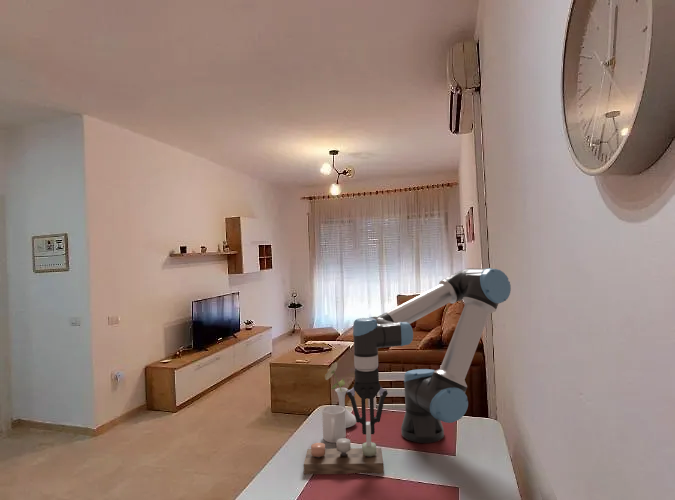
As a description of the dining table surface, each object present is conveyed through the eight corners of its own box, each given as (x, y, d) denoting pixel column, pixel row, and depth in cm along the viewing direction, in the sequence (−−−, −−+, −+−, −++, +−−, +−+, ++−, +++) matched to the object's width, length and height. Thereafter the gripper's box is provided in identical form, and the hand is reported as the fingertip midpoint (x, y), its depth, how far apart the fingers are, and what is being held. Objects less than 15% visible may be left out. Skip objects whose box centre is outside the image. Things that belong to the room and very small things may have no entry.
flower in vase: (343, 417, 167) (341, 355, 168) (363, 424, 158) (360, 360, 159) (318, 426, 158) (316, 362, 159) (338, 435, 150) (336, 366, 150)
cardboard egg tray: (381, 457, 132) (381, 447, 132) (383, 473, 122) (383, 463, 122) (307, 458, 133) (307, 449, 133) (304, 474, 123) (303, 464, 123)
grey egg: (350, 451, 129) (350, 438, 129) (350, 458, 125) (350, 444, 125) (337, 451, 129) (336, 438, 130) (336, 458, 125) (336, 444, 125)
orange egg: (325, 455, 130) (325, 442, 130) (325, 462, 125) (324, 448, 125) (312, 456, 130) (311, 442, 130) (310, 462, 125) (310, 449, 125)
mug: (345, 448, 139) (344, 417, 139) (321, 448, 139) (320, 418, 140) (346, 433, 151) (345, 405, 151) (324, 433, 151) (323, 405, 152)
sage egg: (376, 455, 129) (375, 441, 129) (377, 462, 125) (376, 448, 125) (362, 455, 129) (361, 442, 129) (362, 462, 125) (362, 448, 125)
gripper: (386, 364, 131) (388, 438, 130) (345, 365, 132) (348, 439, 131) (388, 371, 124) (390, 449, 123) (345, 371, 124) (347, 450, 123)
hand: (368, 444), depth 127 cm, fingers closed
